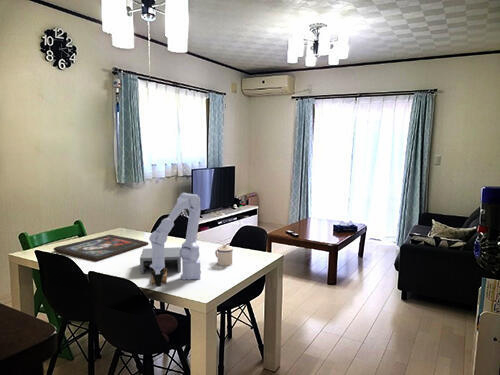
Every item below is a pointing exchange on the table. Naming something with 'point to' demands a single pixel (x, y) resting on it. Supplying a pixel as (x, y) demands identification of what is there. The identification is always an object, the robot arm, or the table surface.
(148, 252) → the grey low stand
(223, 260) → the teacup with lid
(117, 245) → the religious icon
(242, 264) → the table surface
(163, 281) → the teak tray
